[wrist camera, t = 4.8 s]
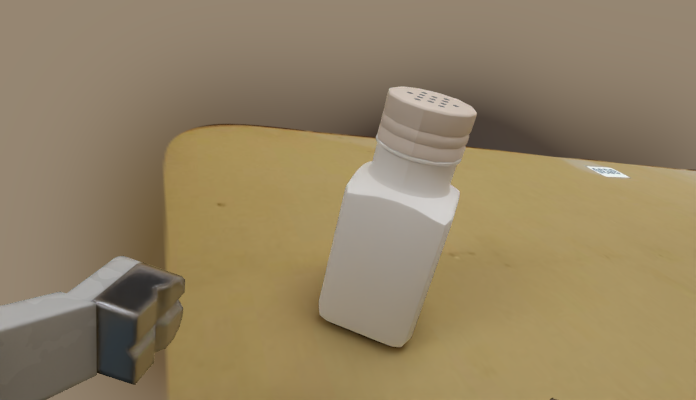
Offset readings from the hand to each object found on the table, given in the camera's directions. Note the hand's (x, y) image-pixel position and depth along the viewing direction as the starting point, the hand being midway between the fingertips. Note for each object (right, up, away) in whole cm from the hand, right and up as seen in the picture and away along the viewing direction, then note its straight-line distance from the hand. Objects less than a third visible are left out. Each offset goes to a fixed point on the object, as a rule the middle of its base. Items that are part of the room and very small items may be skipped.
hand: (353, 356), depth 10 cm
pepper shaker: (+1, -2, +10) cm, 11 cm away
